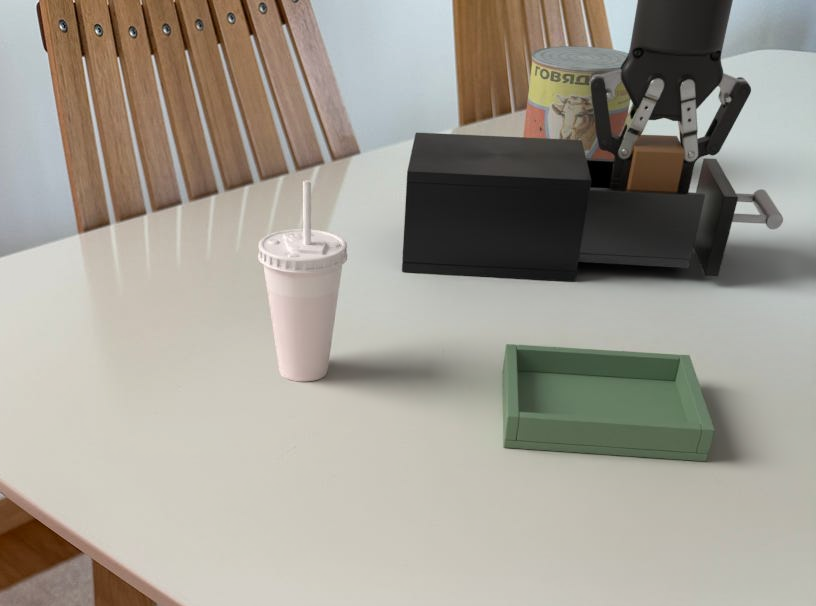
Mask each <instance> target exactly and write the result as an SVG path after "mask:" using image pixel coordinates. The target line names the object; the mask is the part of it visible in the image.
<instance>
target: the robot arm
mask: <svg viewBox="0 0 816 606" xmlns="http://www.w3.org/2000/svg"><path fill="white" fill-rule="evenodd" d="M733 1H734V0H637V3H636V10H635V15H634V22H633V27H632V33H631V39H630V45H629V51H628V52H627V53H628V56H627V57H626V59H625V61H624V62H623V64H622V65H621V68H620V69H618V70H615V71H612V72H608V73H605V74H601V73H599V72H595V73H593V74H592V75H591V76H590V78H589V85H590V92H591V100H592V107H593V114H594V121H595V128H596V135H597V141H598V144H599V148H600V149H601V150H603V151H608V152H610V153H612V154H613V155H614V162H613V168H612V174H611V180H610V187H611V189H627V185H628V179H629V174H630V168H631V162H632V160H631V157H630V156H631V154H632V152H633V149H634V147H635V145H636V143H637V141H638V139H639V136H640V135H643V132H644V130H645V128H646V126H647V124H648V122H649V121H657V120H662V119H665V120H669V121H672V122H677V126H678V131H679V133H678V134H679V141H680V143H681V145H682V147H683V150H684V152H685V157H684V162H683V166H682V171H681V176H680V181H679V186H678V191H677V192H690V187H691V182H692V178H693V173H694V169H695V164H696V162H697V161H698V160H699V159H700V158H704V157H705V156H708V155H709V156H715V155H717V154H719V153H720V151H721V149H722V147H723V145H724V143H726V140H727V138H728V136H729V135H730V133H731V131H732V129H733V127H734V125H735V123H736V121H737V119H738V118H739V115H740V114H741V112H742V110H743V108H744V106H745V104H746V102H747V101H748V99H749V97H750V95H751V93H752V87H751V85H750V83H749V82H748V80H746V79H745V78H744V77H742V76H740V77H735V76H732V75H729V74H727V73H724V68H723V66H722V65H723V64H722V52H723V47H724V44H725V39H726V34H727V29H728V24H729V20H730V15H731V10H732V6H733ZM620 83H623V85H624V87H625V89H626V91H627V93H628V95H629V97H630V102H631V103H632V104H631V106H630V107H629V110H628V115H627V118H626V121H625V124H624V127H623V129H622V131H621V133H620V136H617V135H615V134H613V133H611V125H610V118H609V110H608V103H607V102H608V101H611V100H612V99H613V98H614V97H615V92H616V87H617V86H618V85H619V84H620ZM718 87H719V91H718V96H717V97H718V101H719V102H720V103H721V104H720V106H719V107H718V110H717V111H716V113H715V115H714V117H713V118H712V121H711V123H710V125H709V126H708V129H707V130H706V132H705V134H704V136H701V137H699V138H698V132H699V131H698V115H697V114H698V113H697V110H698V108H699V107H700V106H701V105H702V104H703V103H704V102H705V101H706V99H708V98H709V96H710V95H711V94H712V93H713V92H714V91H715V90H716V88H718Z"/></svg>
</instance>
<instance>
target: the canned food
mask: <svg viewBox="0 0 816 606" xmlns="http://www.w3.org/2000/svg"><path fill="white" fill-rule="evenodd" d="M628 53H629V52H626V51H621V50H617V49H612V48H605V47H597V46H584V45H583V46H582V45H581V46H580V45H565V46H564V45H562V46H561V45H559V46H551V47H544V48H539V49H537V50H535V51H533V53H532V54H531V59H532V60H531V68H530V77H529V85H528V94H527V95H528V96H527V101H526V111H525V118H524V119H525V120H524V128H523V134H522V135H523V137H526V138H548V139H570V140H582V143H583V147H584V151H585V155H586V158H598V159H614V155H613V154H612V153H610V152H608V151H603V150H601V149H600V148H599V144H598V141H597V135H596V128H595V121H594V114H593V107H592V100H591V92H590V85H589V78H590V76H591V75H592V74H593V73H595V72H599V73H601V74H605V73H608V72H612V71H615V70H618V69H620V68H621V65H622V64H623V62H624V61H625V59H626V57H627V56H628ZM607 103H608V110H609V118H610V125H611V133H613V134H615V135H617V136H620V133H621V131H622V129H623V127H624V124H625V121H626V118H627V115H628V113H629V111H630V104H631V99H630V97H629V95H628V93H627V91H626V89H625V87H624V85H623V83H620V84H619V85H618V86H617V87H616V92H615V97H614V98H613V99H612V100H611V101H608V102H607Z"/></svg>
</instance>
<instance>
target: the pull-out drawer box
mask: <svg viewBox="0 0 816 606" xmlns="http://www.w3.org/2000/svg"><path fill="white" fill-rule="evenodd" d="M586 160H587V164H588V168H589V172H590V176H591V187H590V193H589V199H588V205H587V211H586V217H585V224H584V230H583V236H582V242H581V248H580V254H579V260H578V263H588V264H589V263H590V264H608V265H609V264H610V265H626V266H627V265H628V266H644V267H645V266H646V267H662V268H663V267H665V268H679V269H680V268H682V269H689V268H690V263H691V258H692V255H693V251H694V253H695V256H696V258H697V260H698V263H699V265H700V267H701V270H702V272H703V275H704V277H713V278H714V277H716V278H717V277H718V278H719V276H720V272H721V267H722V264H723V260H724V256H725V252H726V248H727V245H728V244H727V243H728V241H729V236H730V232H731V228H732V224H733V223H745V224H762V225H763V224H765V226H766V227H767V228H768V229H769V230H777V229H779V228H780V227H781V226H782V225H783V223H784V217H783V215H782V213H781V212H780V210H779V208H778V207H777V206H776V204H775V203H774V201H773V200H772V198H771V197H770V195H769V193H768V192H767V191H766V190H765V189H762V188H761V189H757V190H756V191H755V192H753V193H740V192H739V193H737V192H736V191H735V189H734V187H733V186H732V184H731V182H730V181H729V179H728V177H727V175H726V174H725V171H724V170H723V167H721V165H720V163H719V161H718V160H717V158H707V157H706V158H705V157H703V159H702V164H701V168H700V173H699V176H698V181H697V185H696V190H695V192H690V191H689V192H671V191H651V190H630V189H611V187H610V180H611V174H612V168H613V162H614V159H598V158H586ZM738 203H753V204H752V205H754V207H755V209H756V210H757V212H758V214H753V213H736V208H737V204H738Z"/></svg>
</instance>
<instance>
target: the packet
mask: <svg viewBox="0 0 816 606" xmlns="http://www.w3.org/2000/svg"><path fill="white" fill-rule="evenodd" d="M630 157H631V160H632V162H631V168H630V174H629V179H628V185H627V189H630V190H651V191H671V192H677V191H678V186H679V181H680V176H681V171H682V166H683V162H684V157H685V152H684V150H683V147H682V145H681V143H680V138H679V137H678V136H677V135H661V134H641V135H640V136H639V139H638V141H637V143H636V145H635V147H634V149H633V152H632V154H631V156H630Z"/></svg>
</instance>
